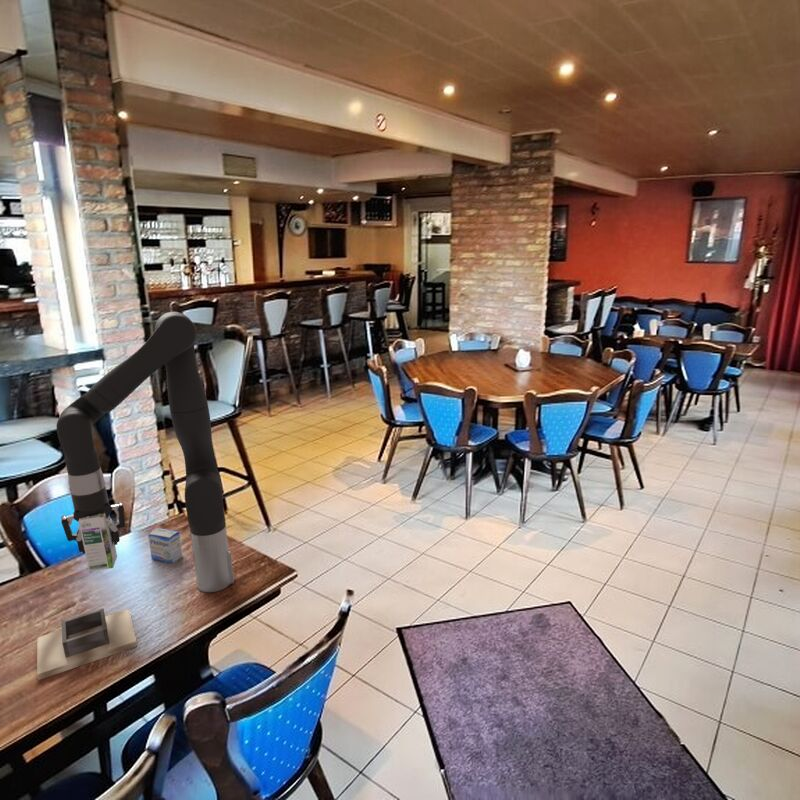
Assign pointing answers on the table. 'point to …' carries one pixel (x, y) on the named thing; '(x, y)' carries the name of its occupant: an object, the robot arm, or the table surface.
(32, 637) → the table surface
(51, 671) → the socket stand
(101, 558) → the syrup box
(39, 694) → the table surface
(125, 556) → the table surface
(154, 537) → the medicine box
